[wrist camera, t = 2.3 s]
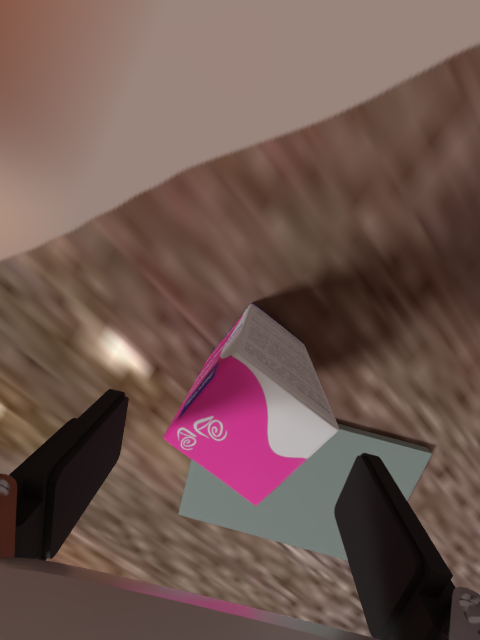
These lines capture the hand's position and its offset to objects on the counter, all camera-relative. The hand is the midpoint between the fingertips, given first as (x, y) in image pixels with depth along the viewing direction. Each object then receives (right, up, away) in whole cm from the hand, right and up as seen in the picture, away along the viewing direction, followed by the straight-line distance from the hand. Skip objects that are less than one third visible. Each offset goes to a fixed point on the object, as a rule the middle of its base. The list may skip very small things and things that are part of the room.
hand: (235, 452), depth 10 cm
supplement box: (+2, +3, +12) cm, 13 cm away
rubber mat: (+5, -10, +15) cm, 19 cm away
